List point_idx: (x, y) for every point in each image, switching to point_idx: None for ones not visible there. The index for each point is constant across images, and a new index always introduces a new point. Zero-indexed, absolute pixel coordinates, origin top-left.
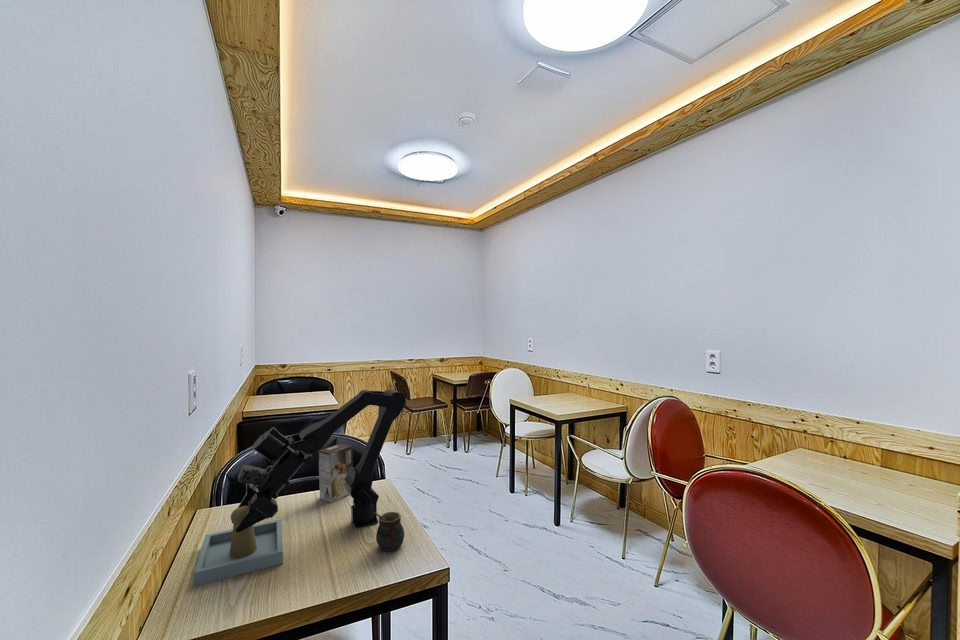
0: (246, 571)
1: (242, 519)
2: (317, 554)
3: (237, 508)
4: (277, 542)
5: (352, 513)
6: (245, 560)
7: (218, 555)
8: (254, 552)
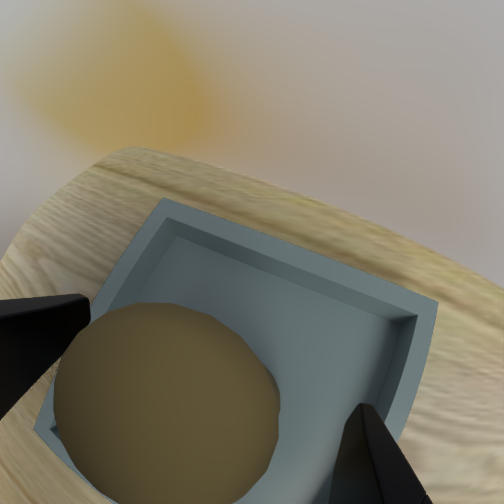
0: None
1: (10, 305)
2: (41, 493)
3: (201, 390)
4: None
5: None
6: None
7: (281, 321)
8: None
